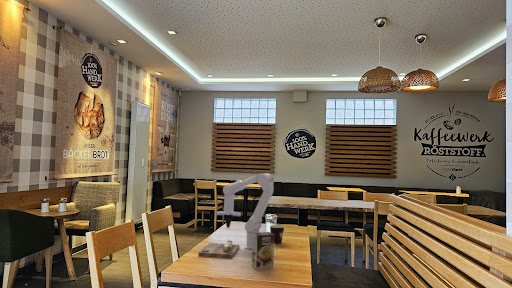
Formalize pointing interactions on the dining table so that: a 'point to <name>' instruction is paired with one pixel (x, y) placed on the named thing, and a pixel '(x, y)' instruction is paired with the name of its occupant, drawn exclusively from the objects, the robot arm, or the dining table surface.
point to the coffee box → (263, 250)
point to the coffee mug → (277, 233)
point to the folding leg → (226, 245)
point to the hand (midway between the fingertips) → (228, 227)
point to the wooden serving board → (218, 250)
